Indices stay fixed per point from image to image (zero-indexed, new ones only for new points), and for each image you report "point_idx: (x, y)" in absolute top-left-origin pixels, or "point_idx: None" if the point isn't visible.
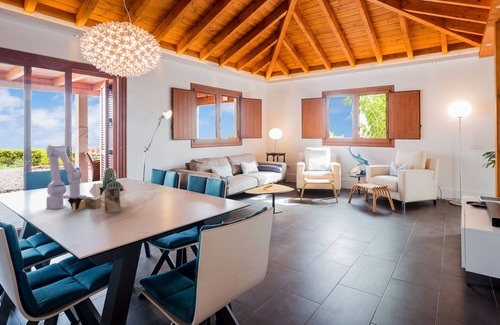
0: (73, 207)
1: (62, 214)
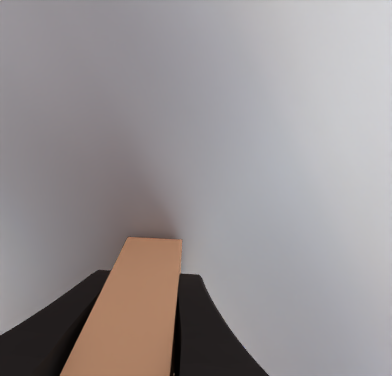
0: (153, 287)
1: (291, 51)
